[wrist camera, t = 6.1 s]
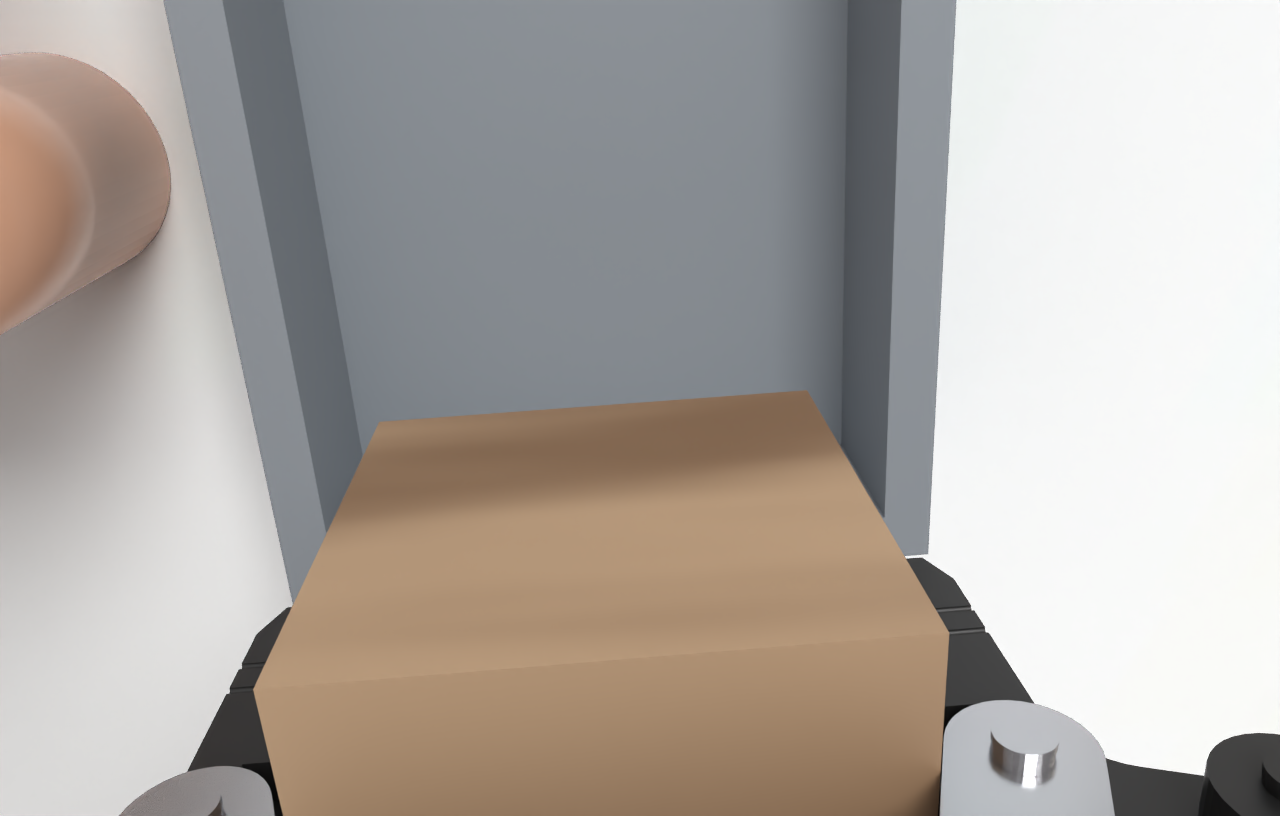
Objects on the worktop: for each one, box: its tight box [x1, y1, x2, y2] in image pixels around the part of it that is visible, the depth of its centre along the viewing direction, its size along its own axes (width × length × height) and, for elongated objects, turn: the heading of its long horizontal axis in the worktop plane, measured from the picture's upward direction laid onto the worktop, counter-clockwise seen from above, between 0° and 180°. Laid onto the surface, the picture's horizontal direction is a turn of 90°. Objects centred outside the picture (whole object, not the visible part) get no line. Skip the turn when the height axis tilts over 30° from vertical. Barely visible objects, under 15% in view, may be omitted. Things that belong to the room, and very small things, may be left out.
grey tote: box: [164, 0, 956, 604], centre depth 22 cm, size 18×14×5 cm
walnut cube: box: [253, 390, 949, 816], centre depth 11 cm, size 5×5×5 cm
